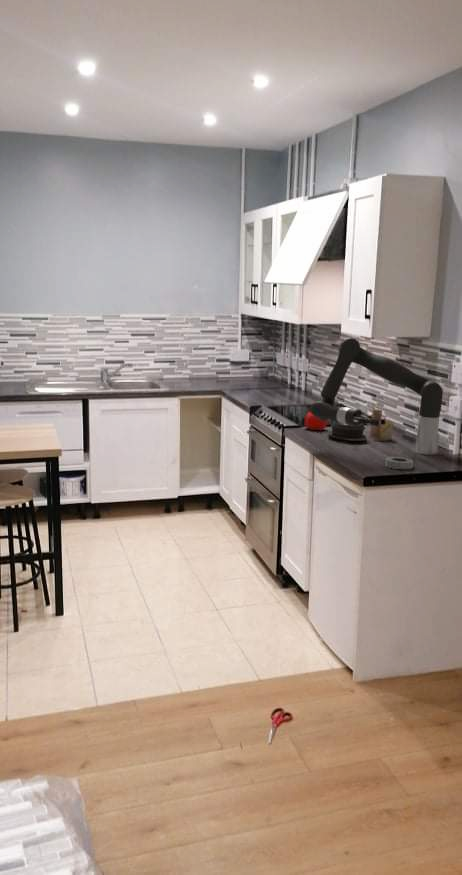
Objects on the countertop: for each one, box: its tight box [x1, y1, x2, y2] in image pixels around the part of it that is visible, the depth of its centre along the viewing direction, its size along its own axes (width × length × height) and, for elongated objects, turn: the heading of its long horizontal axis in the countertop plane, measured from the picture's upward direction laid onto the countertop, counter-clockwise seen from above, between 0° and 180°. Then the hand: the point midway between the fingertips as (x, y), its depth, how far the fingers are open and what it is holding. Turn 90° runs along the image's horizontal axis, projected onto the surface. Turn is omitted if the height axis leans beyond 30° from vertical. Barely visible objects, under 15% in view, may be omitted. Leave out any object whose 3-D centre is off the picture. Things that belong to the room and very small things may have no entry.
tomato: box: [304, 412, 328, 431], centre depth 391 cm, size 11×12×9 cm
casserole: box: [327, 421, 368, 442], centre depth 370 cm, size 25×19×8 cm
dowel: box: [369, 408, 383, 439], centre depth 320 cm, size 4×4×12 cm
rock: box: [373, 420, 394, 442], centre depth 372 cm, size 11×9×10 cm
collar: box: [384, 456, 414, 471], centre depth 317 cm, size 11×11×3 cm
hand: (381, 422), depth 318 cm, fingers closed on dowel, 4 cm apart
